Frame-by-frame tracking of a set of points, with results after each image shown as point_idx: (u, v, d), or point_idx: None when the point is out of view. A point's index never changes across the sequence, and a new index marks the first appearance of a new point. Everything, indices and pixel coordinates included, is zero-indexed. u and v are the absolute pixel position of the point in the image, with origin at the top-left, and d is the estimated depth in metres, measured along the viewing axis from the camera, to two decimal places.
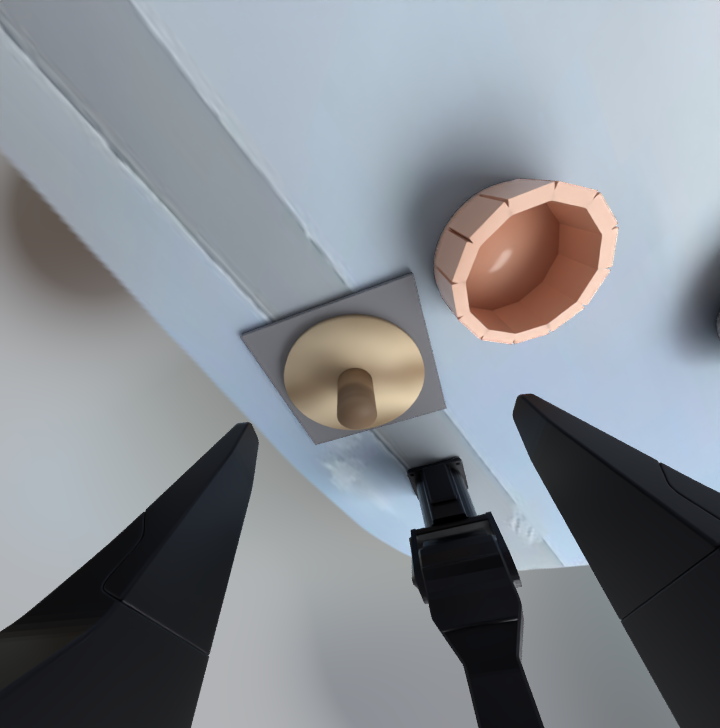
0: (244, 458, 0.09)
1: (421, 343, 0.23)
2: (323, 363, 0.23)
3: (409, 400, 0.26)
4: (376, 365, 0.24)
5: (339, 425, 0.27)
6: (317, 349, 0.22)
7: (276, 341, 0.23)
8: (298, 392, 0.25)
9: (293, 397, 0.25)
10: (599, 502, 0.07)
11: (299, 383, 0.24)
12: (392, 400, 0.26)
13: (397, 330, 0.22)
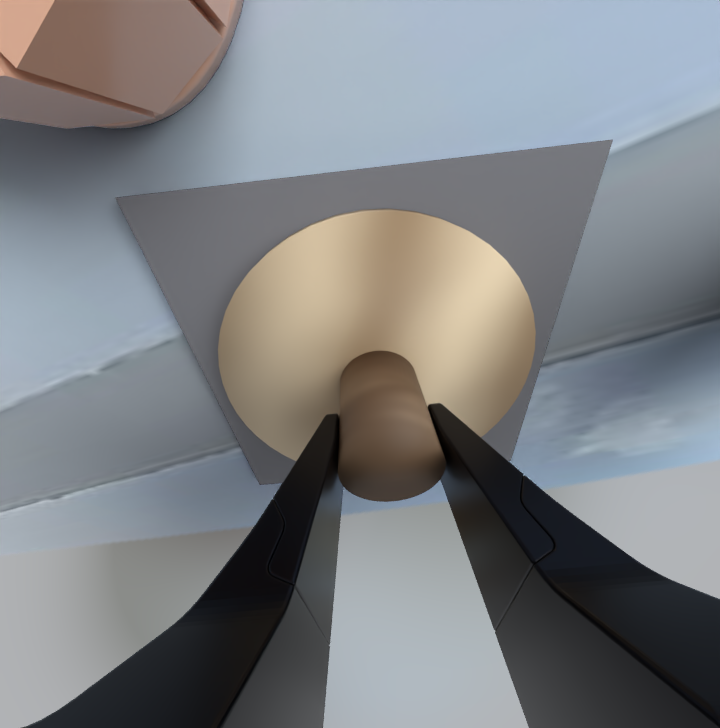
0: None
1: (323, 200, 0.08)
2: (315, 421, 0.12)
3: (492, 273, 0.09)
4: (347, 335, 0.10)
5: (480, 428, 0.13)
6: (283, 422, 0.12)
7: (271, 455, 0.15)
8: None
9: None
10: (473, 514, 0.07)
11: None
12: (468, 318, 0.10)
13: (252, 272, 0.09)
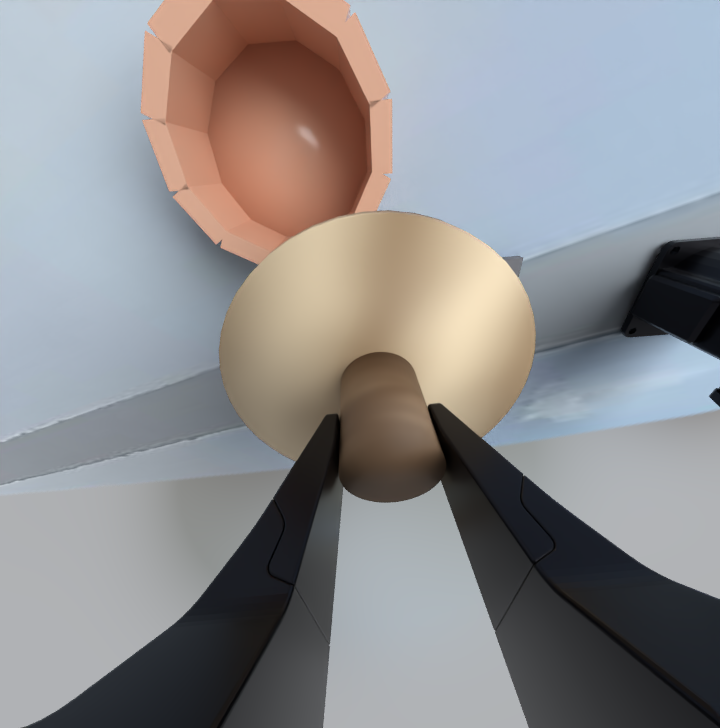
0: None
1: None
2: (316, 422, 0.12)
3: (492, 275, 0.09)
4: (348, 336, 0.10)
5: (480, 429, 0.13)
6: (283, 423, 0.12)
7: None
8: None
9: None
10: (473, 513, 0.07)
11: None
12: (468, 320, 0.10)
13: (253, 274, 0.09)
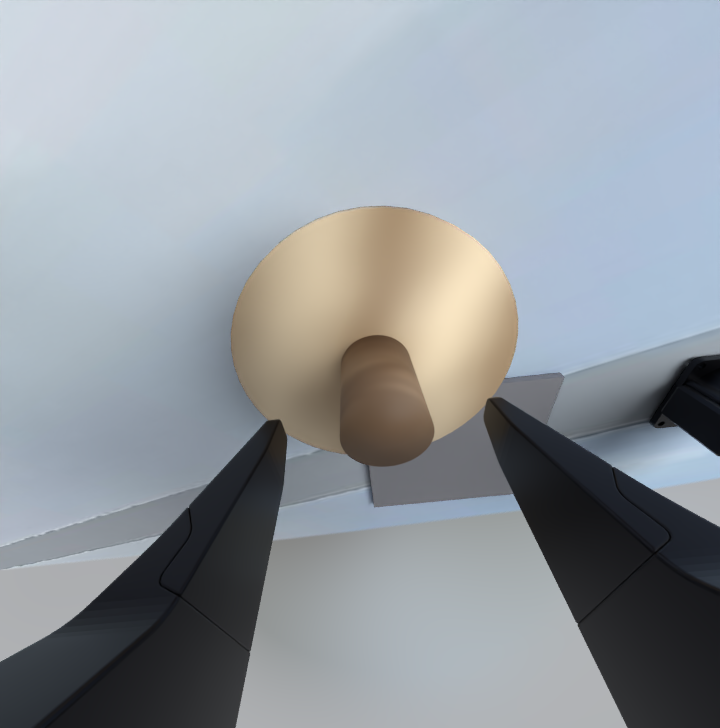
0: (276, 455, 0.09)
1: None
2: (318, 402, 0.13)
3: (477, 263, 0.10)
4: (347, 320, 0.11)
5: (470, 409, 0.14)
6: (288, 403, 0.13)
7: (386, 491, 0.26)
8: None
9: None
10: (556, 505, 0.07)
11: None
12: (456, 305, 0.11)
13: (263, 262, 0.10)
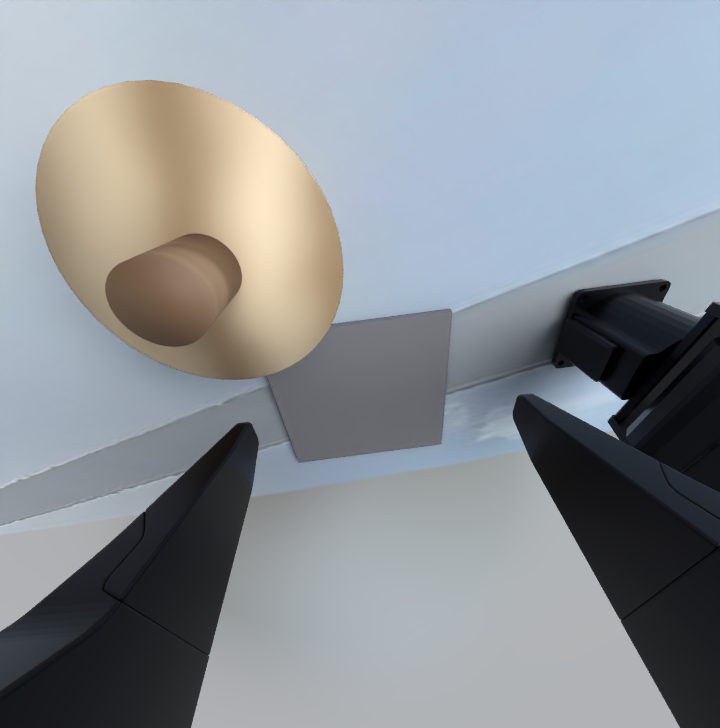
0: (244, 458, 0.09)
1: (337, 335, 0.20)
2: None
3: (267, 147, 0.10)
4: (158, 216, 0.11)
5: (320, 323, 0.14)
6: None
7: (307, 444, 0.26)
8: (230, 365, 0.15)
9: (242, 374, 0.16)
10: (600, 502, 0.07)
11: (210, 359, 0.15)
12: (263, 198, 0.11)
13: (46, 145, 0.10)
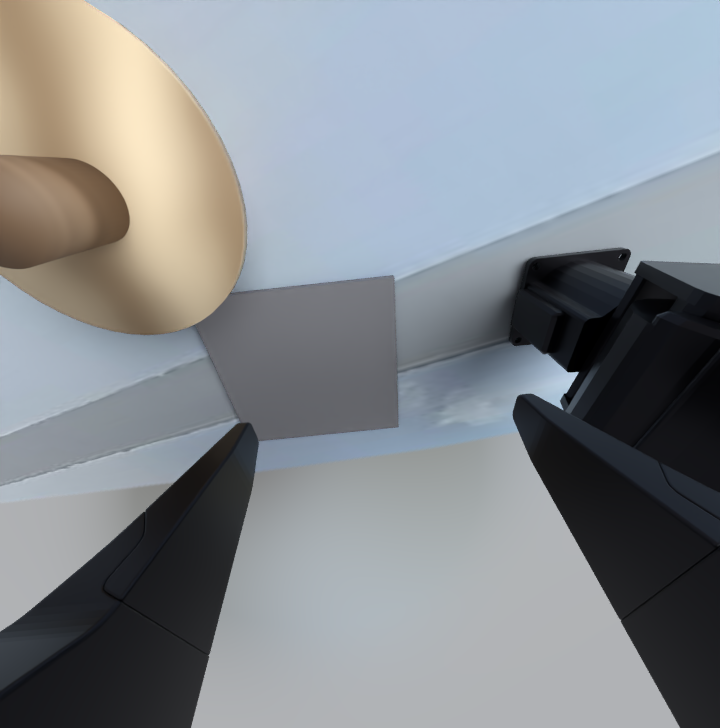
0: (244, 458, 0.09)
1: (273, 300, 0.19)
2: None
3: (127, 53, 0.09)
4: (23, 135, 0.10)
5: (225, 271, 0.13)
6: None
7: (256, 422, 0.25)
8: (136, 317, 0.14)
9: (150, 328, 0.15)
10: (600, 502, 0.07)
11: (113, 310, 0.14)
12: (135, 116, 0.10)
13: None
